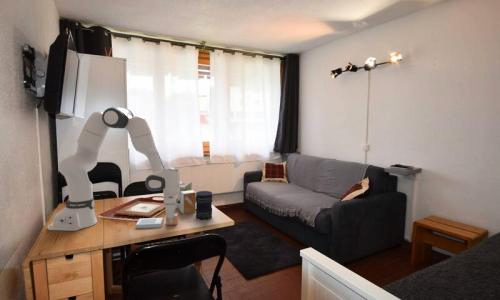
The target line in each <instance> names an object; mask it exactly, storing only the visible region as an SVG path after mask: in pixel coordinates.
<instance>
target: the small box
mask: <svg viewBox="0 0 500 300" xmlns="http://www.w3.org/2000/svg"><path fill="white" fill-rule="evenodd" d="M179 211H180V213H182V214H183V215H185V214H190V213H196V191H195V190H193V189H192V190H189V191H182V192H180V208H179Z"/></svg>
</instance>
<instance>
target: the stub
mask: <svg viewBox="0 0 500 300" xmlns="http://www.w3.org/2000/svg"><path fill="white" fill-rule="evenodd" d="M178 222H179V213H178V212H175V214H174V217H173V223H170V220H169V218H167V217H166V216H165V226H169V225H171V226H172V225H174V226H175V225H178Z"/></svg>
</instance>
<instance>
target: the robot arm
mask: <svg viewBox="0 0 500 300" xmlns="http://www.w3.org/2000/svg"><path fill="white" fill-rule="evenodd" d="M150 128H151V127H150V125H149V123H148V121H147V120H146V118H145V117H144V116H141V115H134V114H133V112H132V111H131V110H130V109H128V108H124V107H121V106H120V107H114V106H111V107H108V108H107V109H105V110H104V111H103V112H102V111H94V112H93V113H91V115H90V116H89V117H88V119H87V120H86V121H85V123H84V125H83V128H82V129H81V132H80V134H79V136H78V139H77V141H76V142H77V149H76V151H75V153H74V154H71V155H68V156H66V157H65V158H63V159H62V160H61V161H60V162H59V164H58V170H59V172H60V174H61V175H62V176H63V177H64V179H65V182H66V184H67V189H68V190H67V191H68V198H67V200H66V201H64V203H63V205H64V208H62V209H60V211H58V212H57V213H56V214H55V215H54V216H53V219H52V223H50V224H49V225H48V226H47V230H48V231H71V232H72V231H73V232H75V231H79V230H82V229H85V228H89V227H92V226H94V225H95V224H97V223H98V219H97V217H96V214H95V212H96V211H95V198H94V196H93V195H94V193H93V190H94V189H93V183H92V182H91V181H90V178H89V175H88V172H91V171H92V170H93V169H94V168H95V167H96V166H97V164H98V156H99V152H100V148H101V146H102V145H103V142H104V140H105V137H106V135H107V133H108V131H109V130H110V129H123V130H126V131H127V132H128V134H129V138H130V142H131V143H132V144H131V145H132V146H133V148H134V150H135V151H136V152H138V153H140V154H142V155H144V156H145V157H146V158H147V160H148V162H149V165H150V167H151V169H152V173H151V174H150V175H148V176H147V177H146V178H145V181H144V185H145V187H146V189H147V190H148V191H151V192H159V191H163V204H164V206H165V208H164V209H165V210H164V211H165V218H166V217H167V218H169V220H170V223H173V217H174V214H175V213H176V210H177V208H176V207H177V202H178V200H179V199H180V189H179V185H180V182H181V179H180V178H181V175H180V171H179V169H178V168H176V167H174V166H166V167H164V164H163V162H162V159H161V157H160V154H159V151H158V149H157V147H156V143H155V140H154V137H153V134H152V130H151V129H150Z"/></svg>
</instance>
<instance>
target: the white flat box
mask: <svg viewBox="0 0 500 300" xmlns="http://www.w3.org/2000/svg"><path fill="white" fill-rule="evenodd" d="M163 224H164V217H149V218H148V217H147V218H144V217H143V218H139V219H138V221H137V222H136V224H135V229H149V228H151V229H152V228H162V226H163Z"/></svg>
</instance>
